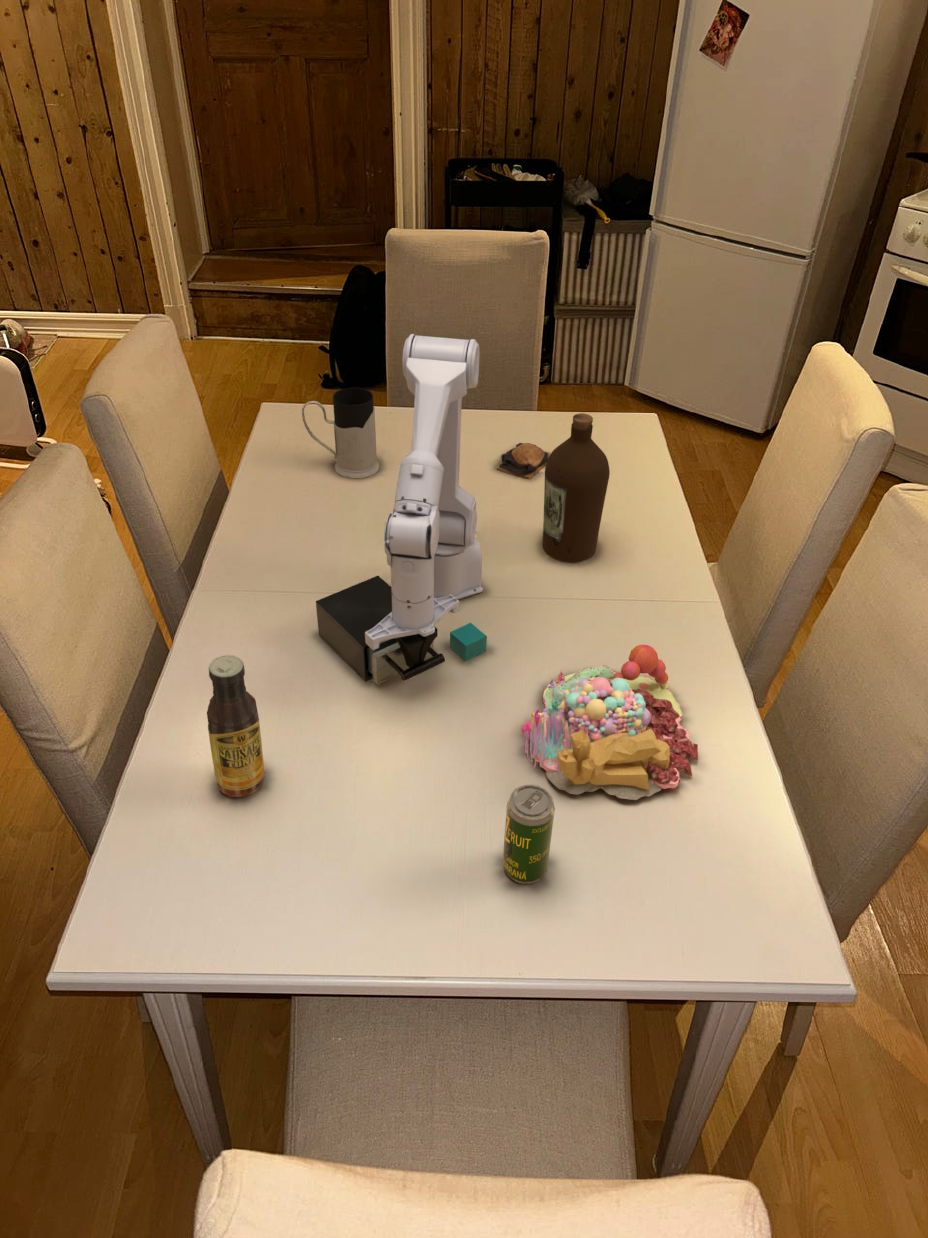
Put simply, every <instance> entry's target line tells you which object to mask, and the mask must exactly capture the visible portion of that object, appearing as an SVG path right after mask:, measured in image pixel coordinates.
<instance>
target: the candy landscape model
mask: <svg viewBox="0 0 928 1238" xmlns="http://www.w3.org/2000/svg"><path fill="white" fill-rule="evenodd" d="M666 669H667V666H666V663H665V661H663V660H662V659H660V658H659V655H658V652H657V651H656V650H655V648H654V647H653V646H651V645H649V644H638V645H636V646H635V647H634V648H632V649H631V650H630V653H629V656H628V661H626V662H624V663H623V664H622V666H621V668H620V672H616V671H615V670H614V669H612V668H611V666H610V665H608V664H607V665H605V664H604V665H599V666H593V667H592V666H589V667H585V668H583V669H582V670H579V671H578V672H575V673H569V674H568V675H564V672H562V671H563V670H562V669H560V671H559V672H560V673H559V674H558V675H557V678H558V679H556V680H555V681H554V680H553V679H551V681H550V683H549V684H548V685H547V686H546V688H545V689H544V690H543V695H542V703H543V704H544V708H543V709H542V712H540V708H538V709H537V710H534V713H531V716H530V720H529V721H526V722H525V724H523V725H522V726H521V732H522V733H523V743H525V744H524V745H525V748H524V754H526V759H528V758H529V752H530V763H532V764H533V759H534V767H533V768H534V769H536V768H537V765H539V767H540V768H542V769H543V770H544V771H545V774H546V778H547V779H548V780H549V781H550V783H551V784H553V785H554V787H555V788H557V789H558V790H559V791H565V792H566V793H568V794H570V795H576V796H577V795H581V794H583V793H584V792H589V793H593V792H595V791H598V790H600V789H601V790H603V791H604V792H605V793H606V794H608V795H610V796H616V798H618V799H624V800H632V801H637V800H639V799H641V798H642V797H651V796H652V795H655V794H657V793H659V792H660V791H661V790H663V789H664V790H666V789H669V788H670V789H675V788H678V786H679V784H680V783H681V779H680V773H681V774H683V775H687V776H692V777H693V772H692V766H691V762H690V761H689V759H690V758H691V759H693V760H696V761H698V759H699V752H698V751H699V747H698V745H699V744H697V743H694V742H692V741H691V739H690V731H689V730H687V729H686V728H684V727H683V726H682V725H681V720H682V719H683V715H684V713H683V712H682V710H681V707H680V706H681V705H680V703H679V702H678V701H676V698H675V696H674V695H673V691H671V689H669V688H668V686H669V684H668V681H669V674H668V673H667V672H666ZM640 674H647V675H648V676H649V677H647V676H641V675H640ZM650 677H652V678H654V679H651V678H650Z"/></svg>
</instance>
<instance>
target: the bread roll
mask: <svg viewBox="0 0 928 1238" xmlns="http://www.w3.org/2000/svg"><path fill="white" fill-rule="evenodd" d="M551 453H552V452H548V451H544V450H543V449H542V447H539V446H538V445H536V444H534V443H530V442H519V443H518V444H515V447H514V448H512V449H510V450H508V451H506V452H505V453H502V454H501V456H500V458H501V461H500V462H499V463H498V465H497V466H496V470H498V471H499V472H503V473H505V474H507V475H508V474H509V475H511V474H512V475H514V476H515V477H521V478H525V479H528V480H529V479H531V478H533V477H534V476H535V475H536V474H537V473H539V471H540V470H541V469H542V468H544V467H546V463H547V460H548V458H549V456H550V454H551Z"/></svg>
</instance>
